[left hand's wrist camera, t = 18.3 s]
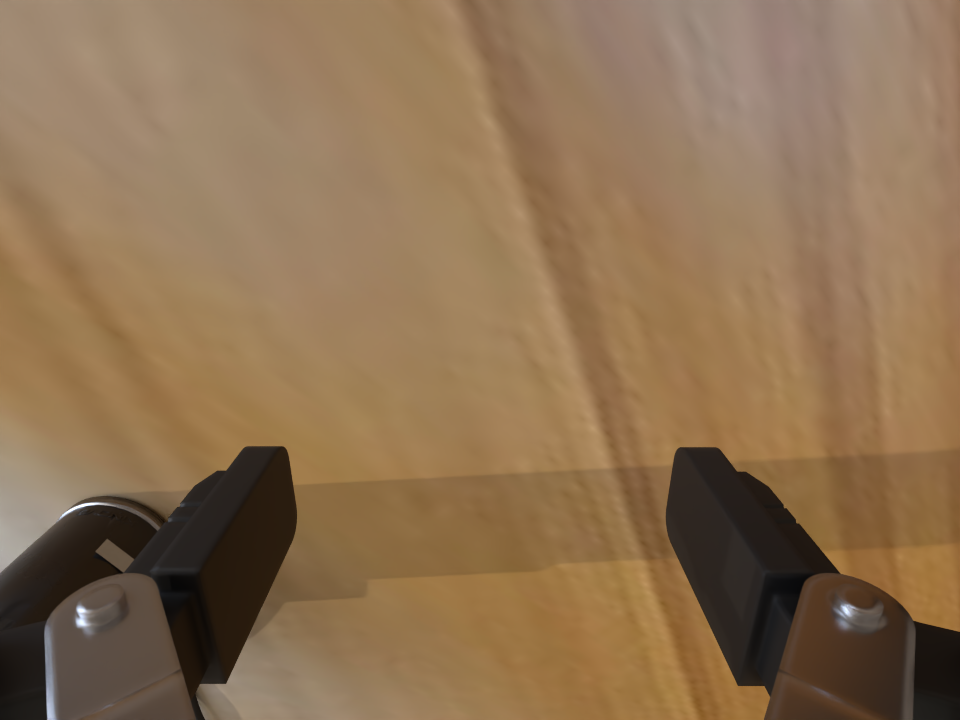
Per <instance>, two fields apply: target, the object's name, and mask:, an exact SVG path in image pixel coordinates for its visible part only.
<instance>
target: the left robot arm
mask: <svg viewBox="0 0 960 720" xmlns="http://www.w3.org/2000/svg"><path fill="white" fill-rule="evenodd" d="M296 523H297V508H296V501H295V495H294V488H293V481H292V475H291V468H290V461H289V456H288V452H287V450H286V448H285V447H283V446H247V447H245V448H244V449H243V450H242V451H241V452H240V453H239V455H238V456H237V457H236V459H235V460H234V461H233V463H232V464H231V465H230V467H229V468H228V469H227V470H226V471H216V472H215V473H213V474H212V475H210V476H209V477H207V478H206V479H204V480H203V481H201V482H200V483H198V484H197V485H195V486H194V487H193V489H192V490H191V491H190V492H189V493H188V495H187V496H186V497H185V498H184V500H183V501H182V502H181V503H180V507H177V508H176V509H175V511H174V512H173V513H172V514H171V515H170V517H169V518H168V522H164V521H163V520H162V519H161V518H160V517H158V516H157V515H156V514H155V513H153V512H152V511H151V510H149V509H147V508H146V507H144V506H142V505H140V504H138V503H135V502H133V501H130V500H127V499H123V498H118V497H110V496H101V497H92V498H88V499H85V500H82V501H80V502H78V503H76V504H75V505H73V506H72V507H71V508H70V509H69V510H68V511H66V512H65V513H64V514H63V515H62V516H61V517H60V518H59V519H58V521H57V522H56V523H55V524H54V525H53V526H52V527H51V528H50V529H49V530H48V531H47V532H45V533H44V534H43V535H42V536H41V537H40V538H39V539H37V540H36V541H35V542H34V543H33V544H32V545H31V546H30V547H28V548H27V549H26V550H25V551H24V552H23V553H22V554H21V555H20V556H19V557H17V558H16V559H15V560H14V561H13V562H12V563H11V564H10V565H9V566H7V567H6V568H5V569H4V570H3V571H2V572H1V573H0V720H205V719H204V717H203V714H202V712H201V710H200V707H199V704H198V701H197V698H196V695H195V692H196V690H197V688H198V686H199V685H200V684H226V683H227V681H228V678H229V676H230V674H231V672H232V670H233V668H234V666H235V663H236V661H237V659H238V657H239V655H240V653H241V650H242V648H243V646H244V644H245V642H246V640H247V638H248V635H249V633H250V631H251V629H252V627H253V625H254V622H255V620H256V618H257V616H258V614H259V612H260V610H261V607H262V605H263V603H264V601H265V599H266V597H267V595H268V592H269V590H270V588H271V586H272V584H273V582H274V579H275V577H276V575H277V573H278V571H279V569H280V567H281V564H282V562H283V560H284V558H285V556H286V554H287V552H288V549H289V547H290V545H291V543H292V541H293V538H294V535H295V530H296ZM666 526H667V532H668V536H669V540H670V542H671V544H672V547H673V549H674V551H675V553H676V555H677V557H678V559H679V561H680V564H681V566H682V568H683V570H684V572H685V574H686V576H687V578H688V580H689V583H690V585H691V587H692V589H693V591H694V593H695V595H696V597H697V600H698V602H699V604H700V606H701V608H702V610H703V612H704V614H705V617H706V619H707V621H708V623H709V625H710V627H711V629H712V631H713V634H714V636H715V638H716V640H717V642H718V644H719V646H720V648H721V651H722V653H723V655H724V657H725V659H726V661H727V663H728V665H729V668H730V670H731V672H732V674H733V676H734V678H735V680H736V682H737V685H738V686H765V688H766V690H767V692H768V694H769V696H770V701H769V704H768V707H767V711H766V714H765V718H764V720H960V632H958V631H953V630H949V629H945V628H940V627H936V626H932V625H928V624H923V623H919V622H916V621H913V620H912V618H911V616H910V615H909V613H908V612H907V611H906V610H905V608H904V607H903V606H902V605H901V604H900V603H899V602H898V601H896V600H895V599H894V598H893V597H891V596H890V595H889V594H887V593H886V592H884V591H883V590H881V589H880V588H878V587H876V586H874V585H872V584H870V583H868V582H865V581H863V580H861V579H858V578H855V577H851V576H847V575H843V574H840V573H839V571H838V570H837V569H836V568H835V566H834V565H833V564H832V563H831V562H830V560H829V559H828V558H827V557H826V556H825V554H824V553H823V552H822V551H821V550H820V548H819V547H818V546H817V545H816V544H815V542H814V541H813V540H812V539H811V537H810V536H809V535H808V534H807V533H806V531H805V530H804V529H803V528H802V527H801V525H800V524H796V519H795V518H794V517H793V516H792V514H791V513H790V512H789V511H788V510H787V508H784V507H783V504H782V502H781V501H780V500H779V499H778V498H777V496H776V495H775V494H774V493H773V491H772V490H771V489H770V488H769V487H768V486H767V485H765V484H764V483H762V482H761V481H759V480H757V479H756V478H754V477H753V476H751V475H750V474H748V473H747V472H737V471H736V470H735V468H734V467H733V466H732V464H731V463H730V462H729V461H728V459H727V458H726V457H725V455H724V454H723V453H722V451H721V450H720V449H718V448H716V447H680V448H678V449H677V451H676V453H675V456H674V462H673V468H672V475H671V481H670V488H669V495H668V501H667V508H666Z"/></svg>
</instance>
